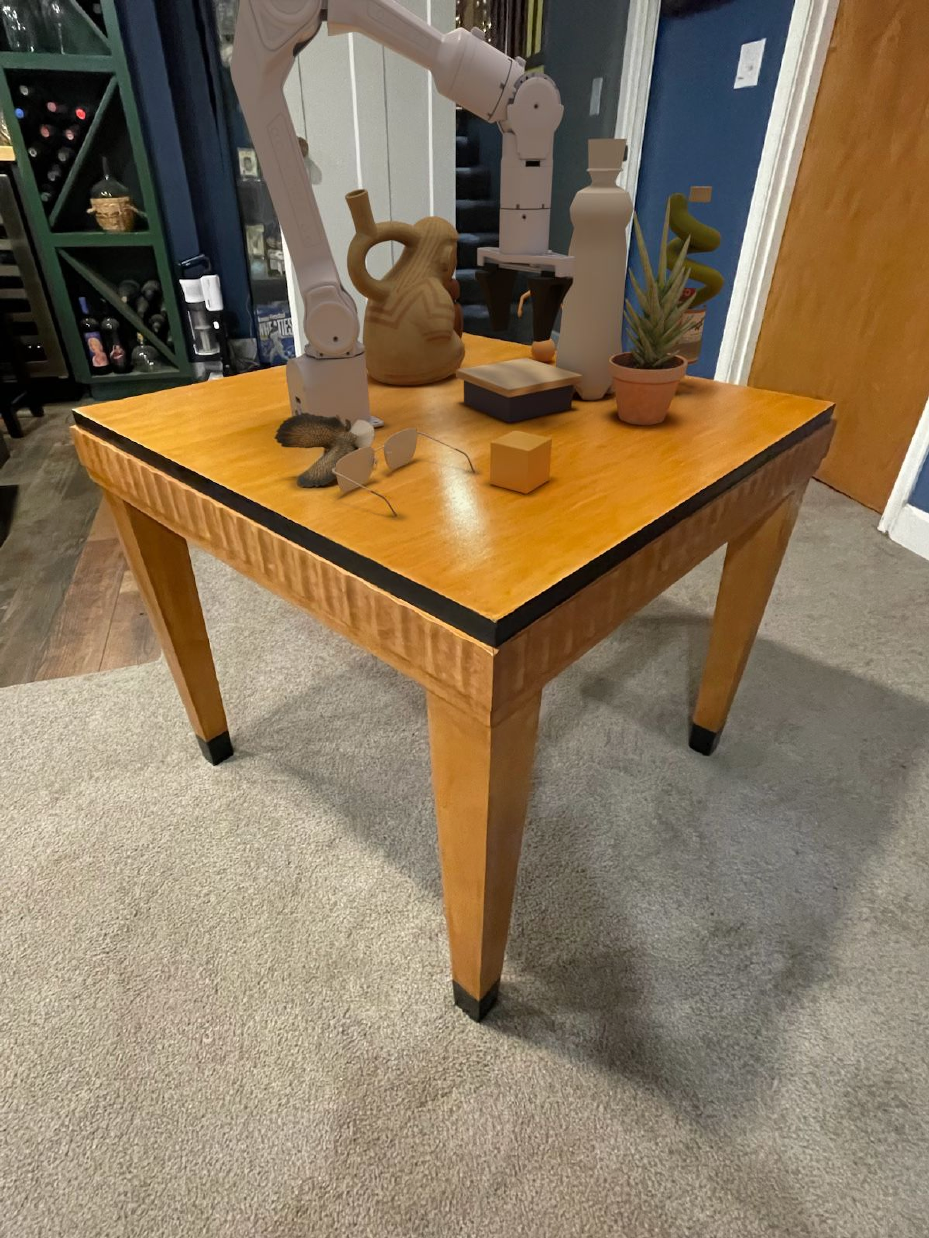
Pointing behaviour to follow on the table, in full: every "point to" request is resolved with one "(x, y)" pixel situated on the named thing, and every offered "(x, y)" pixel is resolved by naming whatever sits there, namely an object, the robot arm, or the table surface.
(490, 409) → the box
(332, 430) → the eagle figurine
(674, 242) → the snake in a can
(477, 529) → the table surface
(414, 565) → the table surface
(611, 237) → the bottle
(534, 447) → the block
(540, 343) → the figurine
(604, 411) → the table surface
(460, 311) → the wooden figurine
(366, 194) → the ceramic vessel
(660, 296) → the potted plant
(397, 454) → the eyeglasses
